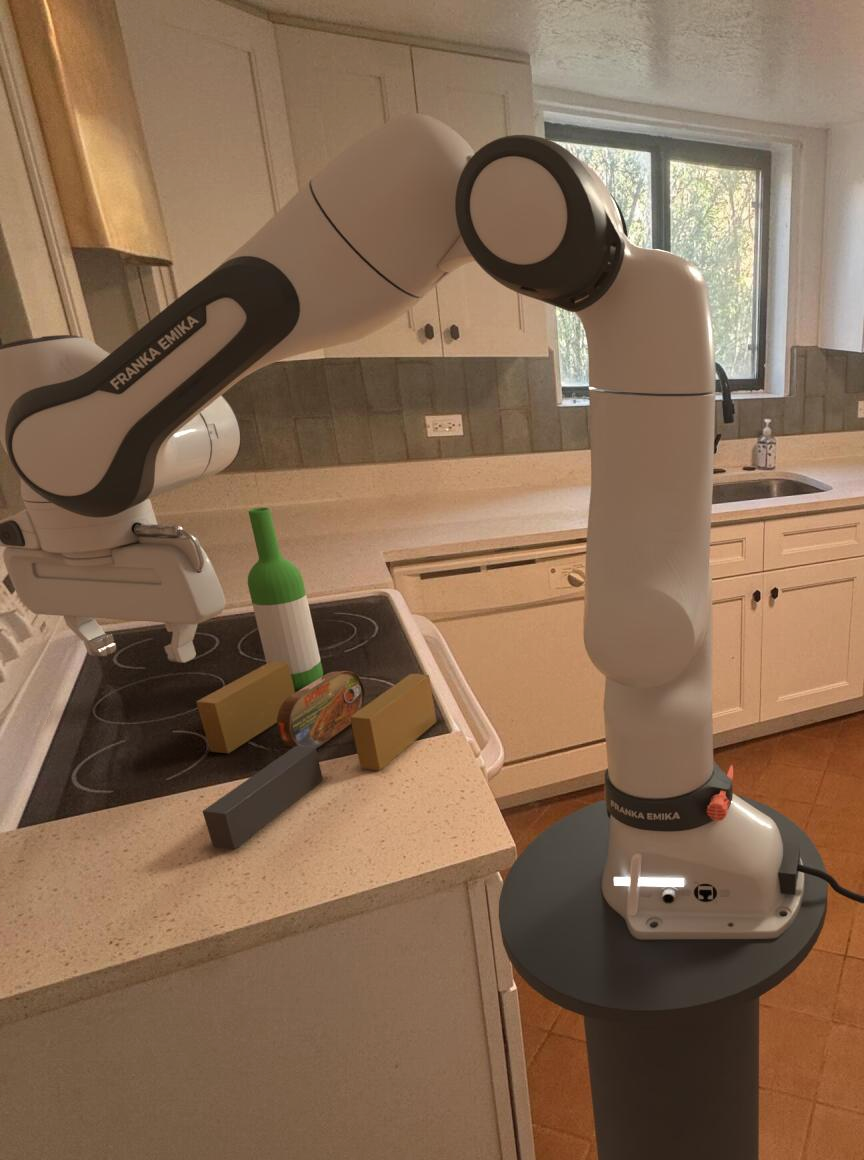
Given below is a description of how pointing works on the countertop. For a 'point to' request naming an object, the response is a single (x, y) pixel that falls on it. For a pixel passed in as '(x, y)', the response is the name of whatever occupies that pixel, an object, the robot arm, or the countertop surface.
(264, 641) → the wine bottle
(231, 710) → the tan cardboard-coloured block
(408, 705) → the khaki rectangular brick
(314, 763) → the grey rectangular block
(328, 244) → the robot arm
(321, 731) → the tin
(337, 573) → the countertop surface
